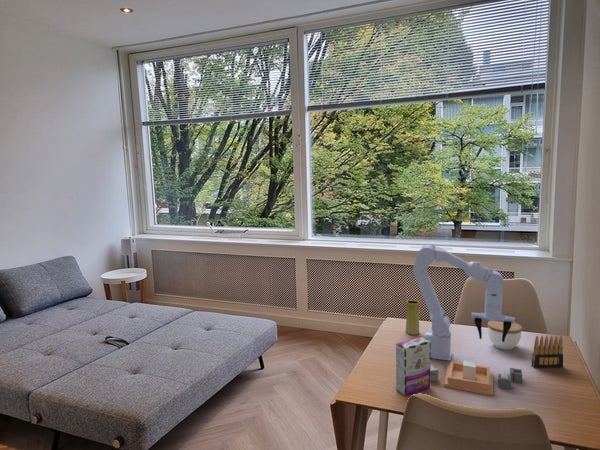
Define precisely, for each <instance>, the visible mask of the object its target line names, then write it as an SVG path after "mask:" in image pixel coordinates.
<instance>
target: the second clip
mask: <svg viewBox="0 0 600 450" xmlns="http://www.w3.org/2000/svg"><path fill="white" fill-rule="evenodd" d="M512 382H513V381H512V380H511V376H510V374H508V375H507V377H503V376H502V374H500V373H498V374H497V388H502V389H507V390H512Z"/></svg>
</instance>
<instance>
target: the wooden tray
mask: <svg viewBox="0 0 600 450" xmlns="http://www.w3.org/2000/svg"><path fill="white" fill-rule="evenodd" d="M493 376H494V375H493V371H491V367H488V366H482V365H477V364H476V374H475V381H474V380H468V379H463V362H458V361H452V360H450V363H449V364H447V367H446V372H445V378H444V381H443V382H444V384H443V387H444V388H449V389H450V388H451V389H457V390H460V391H468V392H471V393H476V394H483V395H487V396H488V395H489V396H494V377H493Z"/></svg>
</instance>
